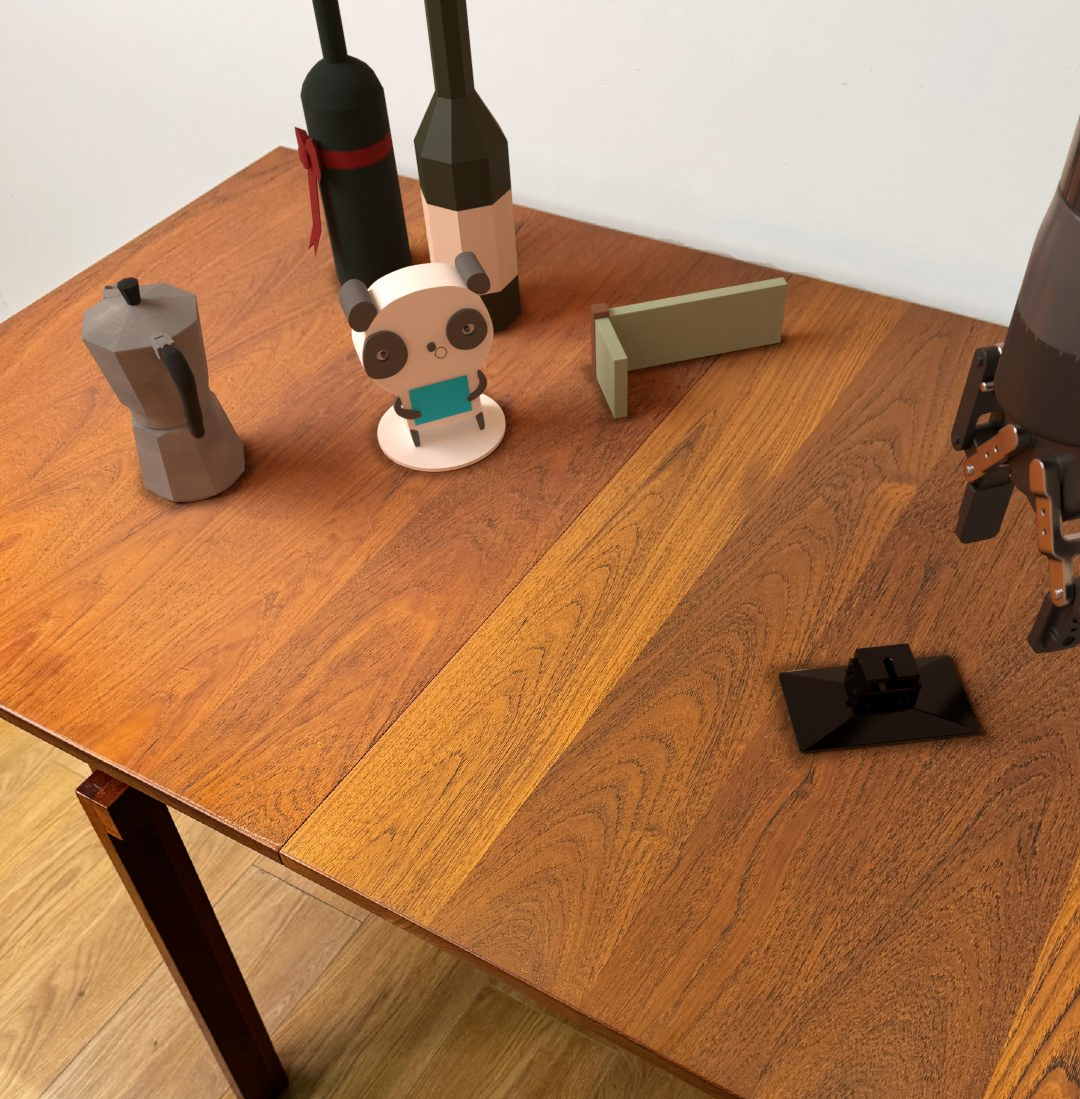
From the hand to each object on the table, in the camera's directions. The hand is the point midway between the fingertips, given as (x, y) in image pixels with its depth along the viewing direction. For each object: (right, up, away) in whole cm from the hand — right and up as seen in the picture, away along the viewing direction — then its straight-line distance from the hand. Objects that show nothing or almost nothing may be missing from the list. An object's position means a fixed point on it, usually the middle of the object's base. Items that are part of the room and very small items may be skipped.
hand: (1010, 588), depth 60 cm
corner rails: (-10, +24, +45) cm, 52 cm away
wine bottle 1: (-42, +39, +59) cm, 82 cm away
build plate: (-1, -6, +21) cm, 22 cm away
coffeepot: (-54, +14, +41) cm, 69 cm away
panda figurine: (-33, +19, +43) cm, 57 cm away
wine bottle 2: (-30, +33, +54) cm, 70 cm away
